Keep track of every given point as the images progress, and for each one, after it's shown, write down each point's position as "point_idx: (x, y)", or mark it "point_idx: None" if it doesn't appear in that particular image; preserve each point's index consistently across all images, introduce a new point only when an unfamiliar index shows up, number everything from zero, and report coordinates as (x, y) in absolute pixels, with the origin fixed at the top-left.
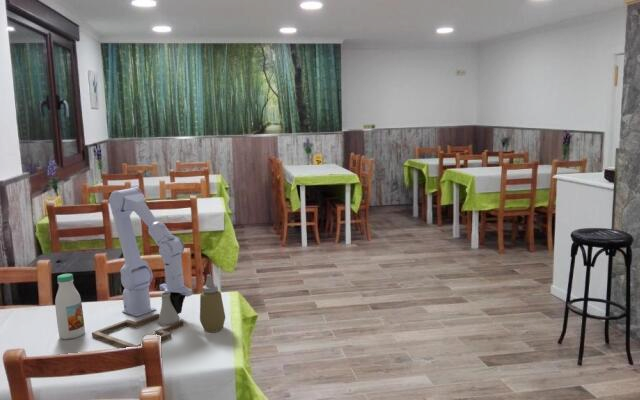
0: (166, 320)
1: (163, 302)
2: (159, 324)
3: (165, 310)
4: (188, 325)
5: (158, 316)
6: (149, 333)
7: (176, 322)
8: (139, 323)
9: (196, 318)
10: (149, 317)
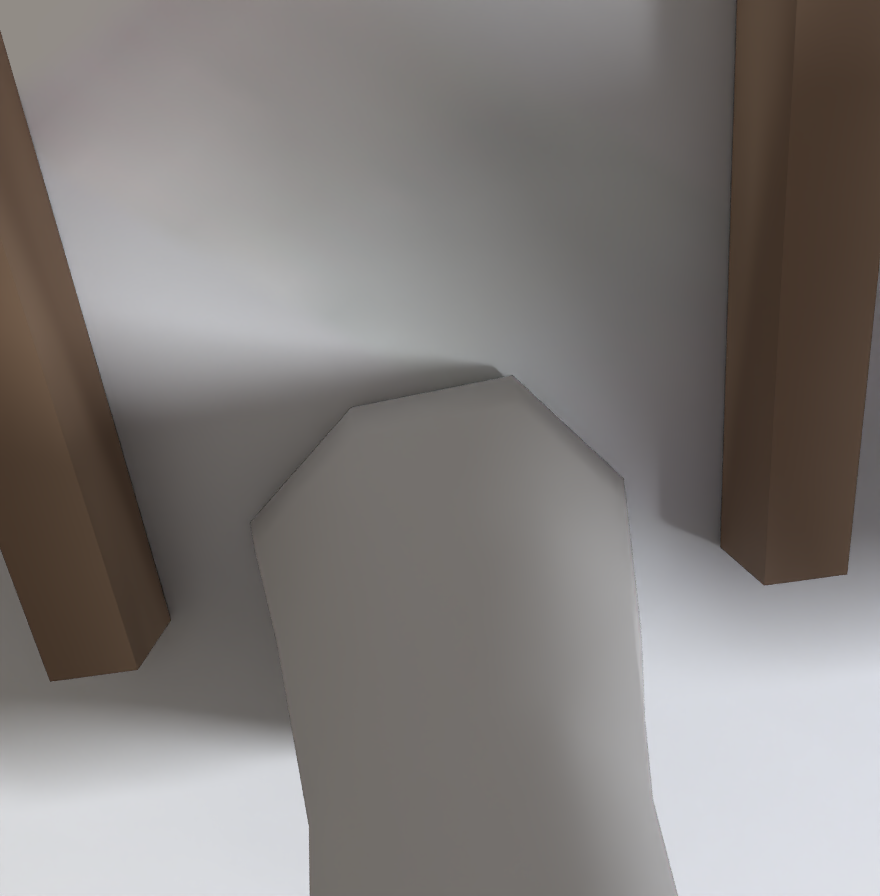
0: (320, 499)
1: (475, 884)
2: (454, 388)
3: (361, 647)
4: (59, 681)
5: (750, 546)
6: (221, 10)
7: (97, 580)
8: (774, 68)
9: (249, 869)
10: (827, 385)
